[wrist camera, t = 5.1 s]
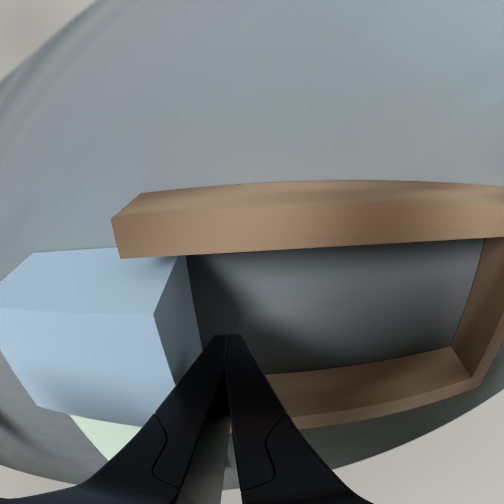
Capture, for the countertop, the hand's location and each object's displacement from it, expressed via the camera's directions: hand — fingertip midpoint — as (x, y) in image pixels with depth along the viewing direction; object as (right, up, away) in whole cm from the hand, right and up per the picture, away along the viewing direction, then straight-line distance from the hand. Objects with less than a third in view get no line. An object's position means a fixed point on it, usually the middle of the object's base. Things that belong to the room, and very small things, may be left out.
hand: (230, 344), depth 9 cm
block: (-4, +1, +1) cm, 5 cm away
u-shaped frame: (+4, +1, +1) cm, 4 cm away
